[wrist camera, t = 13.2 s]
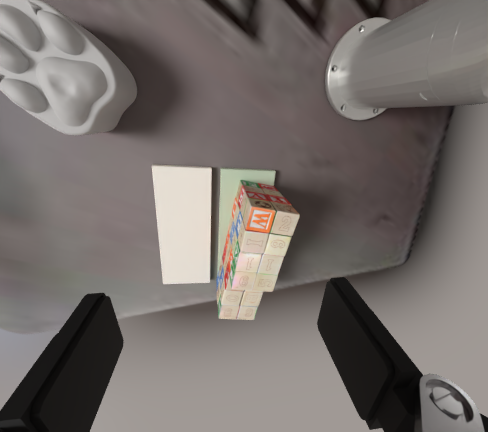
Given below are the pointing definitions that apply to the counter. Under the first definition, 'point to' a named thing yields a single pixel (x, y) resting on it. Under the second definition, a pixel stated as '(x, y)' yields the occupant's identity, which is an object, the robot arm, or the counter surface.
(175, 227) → the cream mat
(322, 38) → the counter surface
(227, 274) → the stack of blocks
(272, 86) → the counter surface
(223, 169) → the sage mat
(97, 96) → the grey animal paw
